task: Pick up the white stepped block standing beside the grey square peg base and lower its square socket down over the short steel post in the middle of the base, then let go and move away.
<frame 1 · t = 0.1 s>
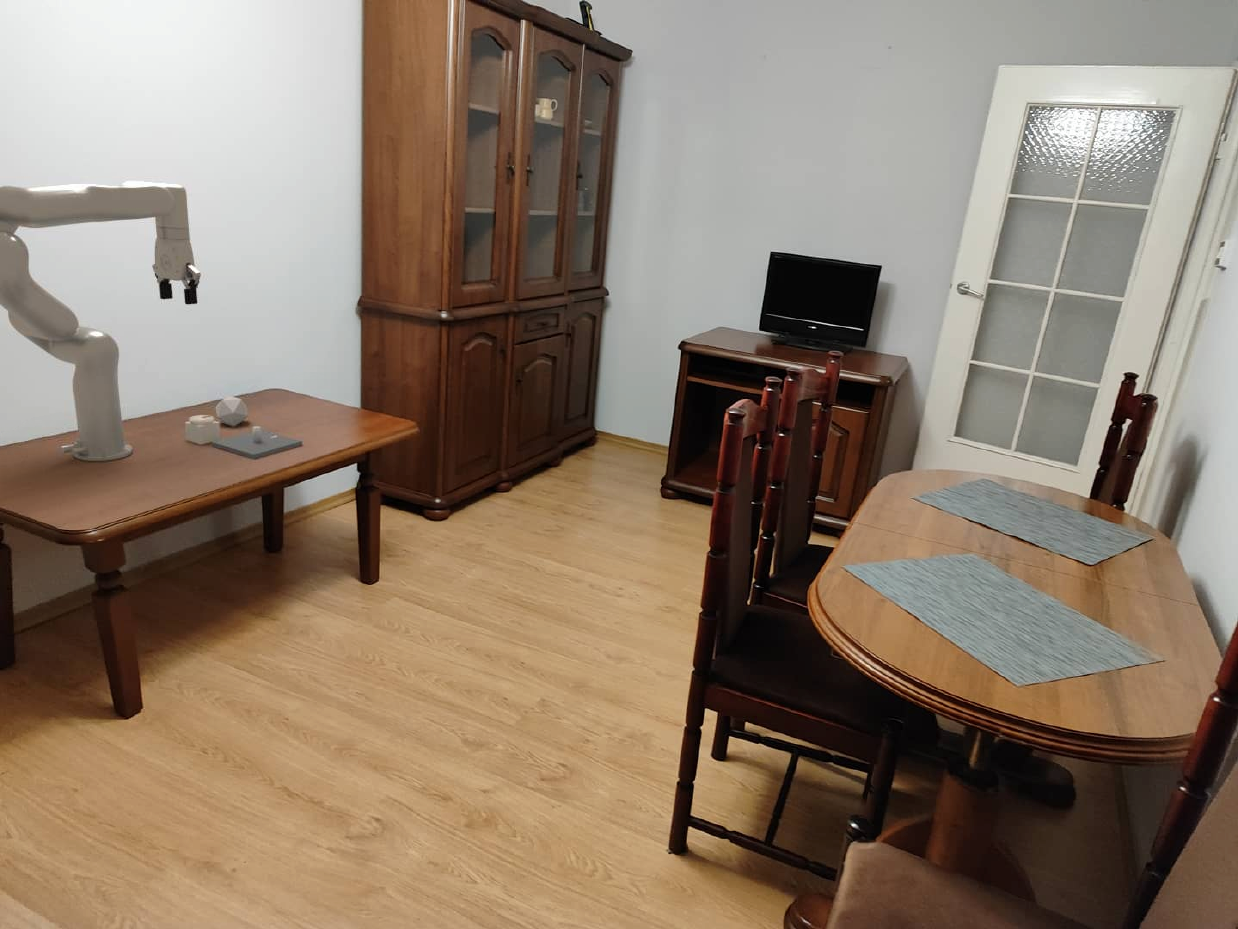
hand: (178, 301, 215), 37 cm above the table, tool pointing down, fingers open, 9 cm apart
grey square peg base: (257, 445, 223), on the table
white stepped block: (203, 439, 223), on the table
die: (232, 424, 239), on the table
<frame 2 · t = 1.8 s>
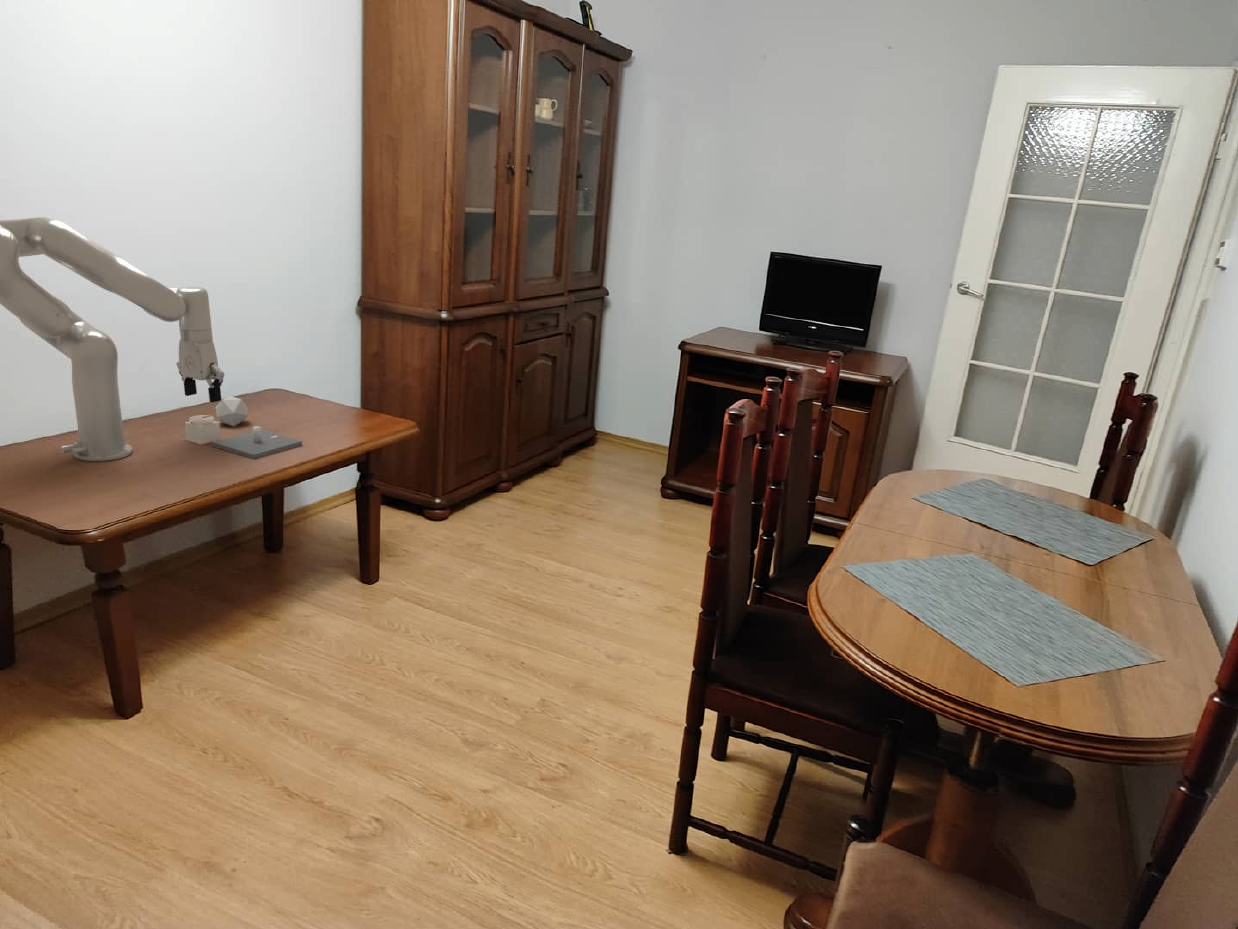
hand: (203, 398, 220), 12 cm above the table, tool pointing down, fingers open, 9 cm apart
nothing on the table moved.
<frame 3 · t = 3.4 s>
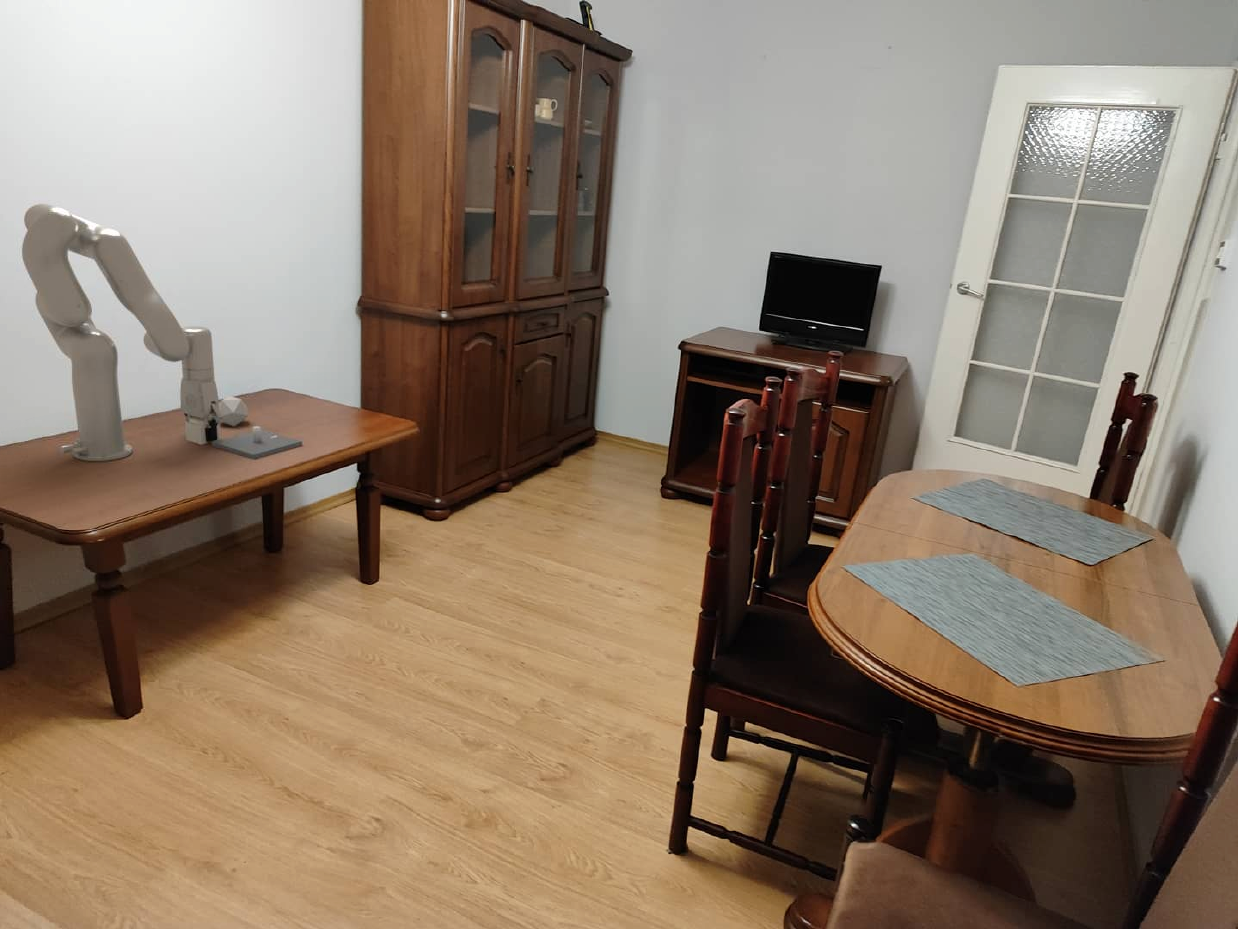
hand: (203, 437, 223), 1 cm above the table, tool pointing down, fingers closed on white stepped block, 6 cm apart
white stepped block: (203, 439, 223), on the table, touching gripper
everything else where it was.
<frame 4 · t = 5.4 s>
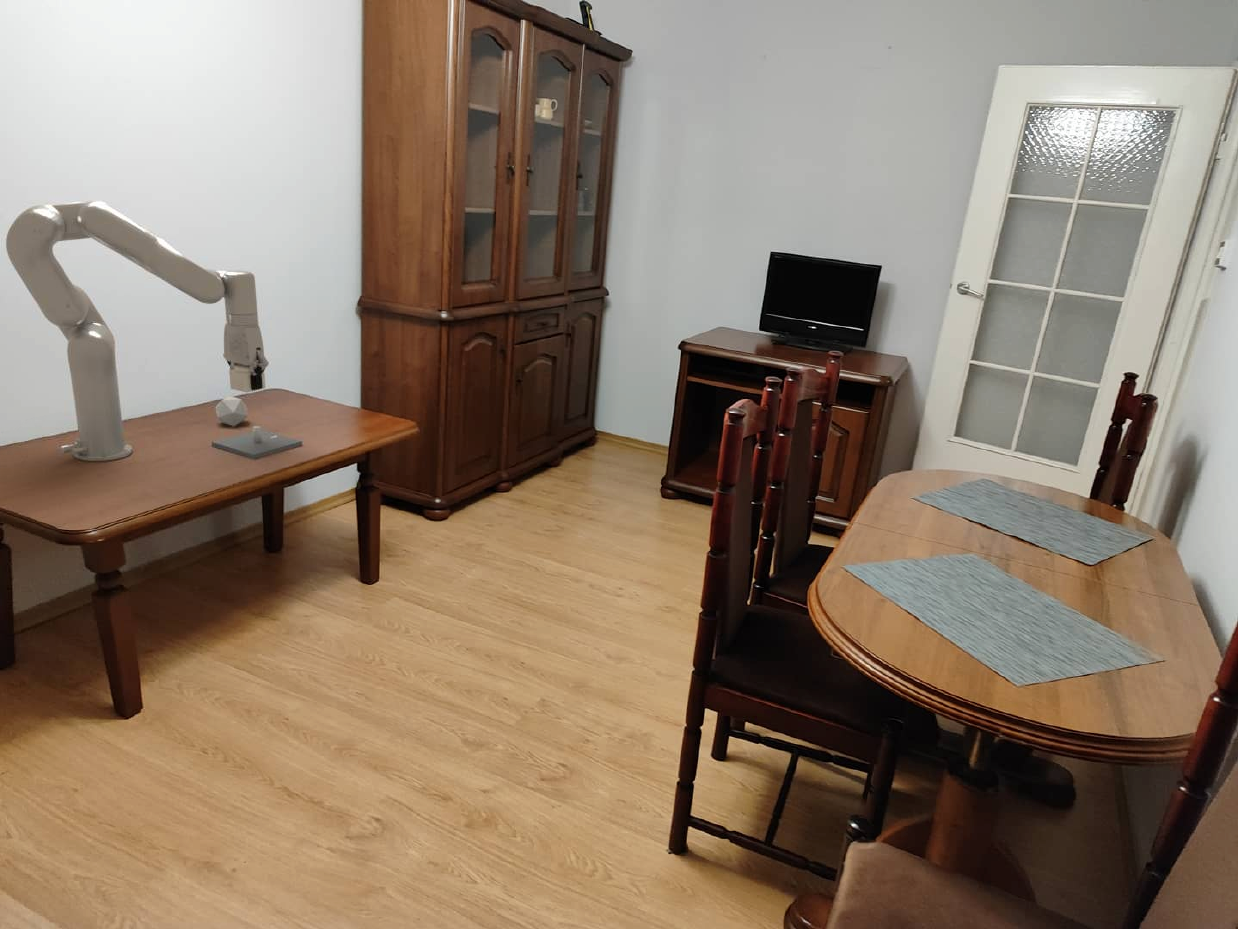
hand: (247, 386, 218), 16 cm above the table, tool pointing down, fingers closed on white stepped block, 6 cm apart
white stepped block: (248, 388, 218), point 16 cm above the table, touching gripper
everything else where it was.
when the fingers open (4 cm above the table, at t = 7.6 s): white stepped block drops 2 cm, resting on grey square peg base.
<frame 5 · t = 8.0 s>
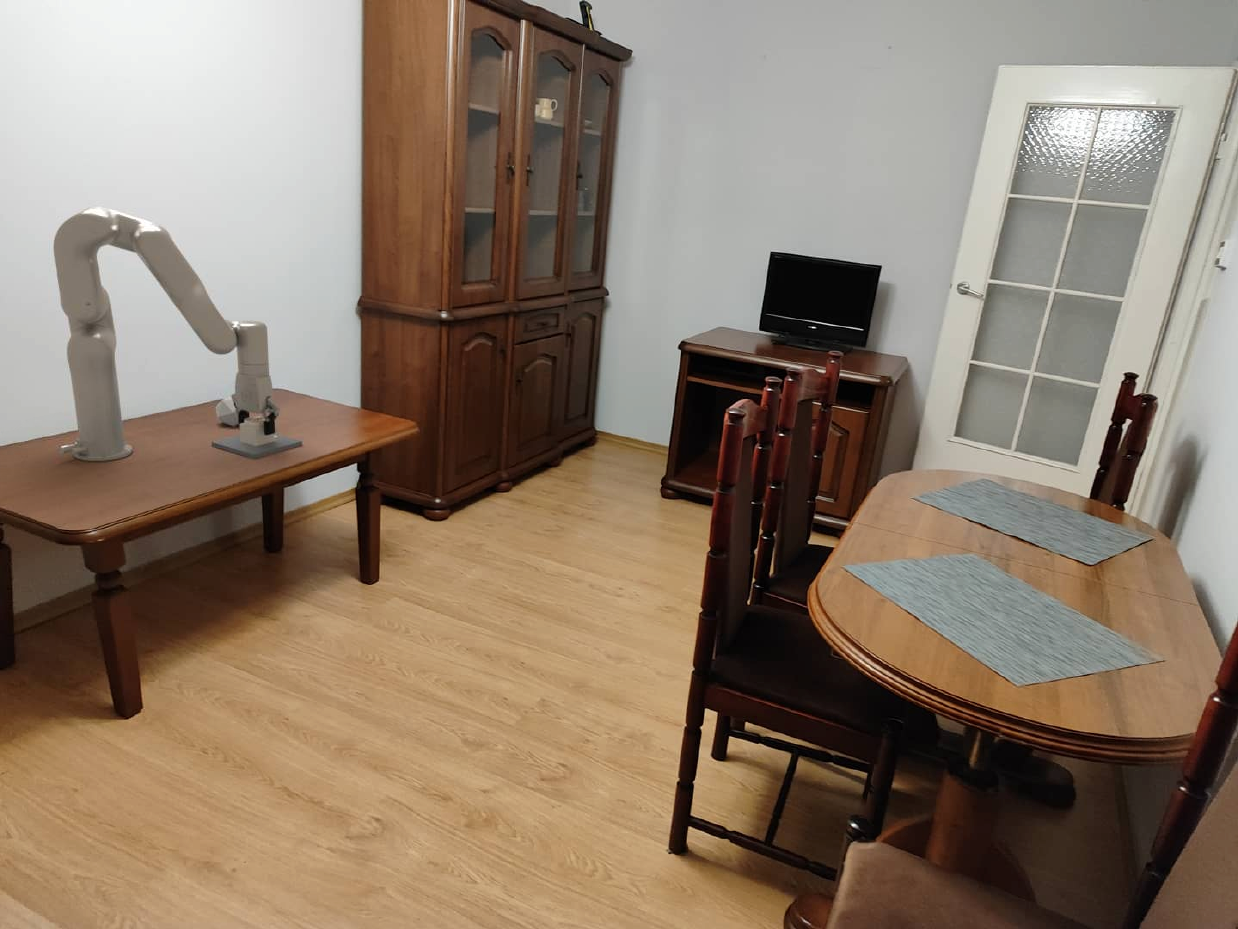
hand: (256, 430, 221), 4 cm above the table, tool pointing down, fingers open, 9 cm apart
white stepped block: (257, 441, 222), point 1 cm above the table, touching grey square peg base
everything else where it was.
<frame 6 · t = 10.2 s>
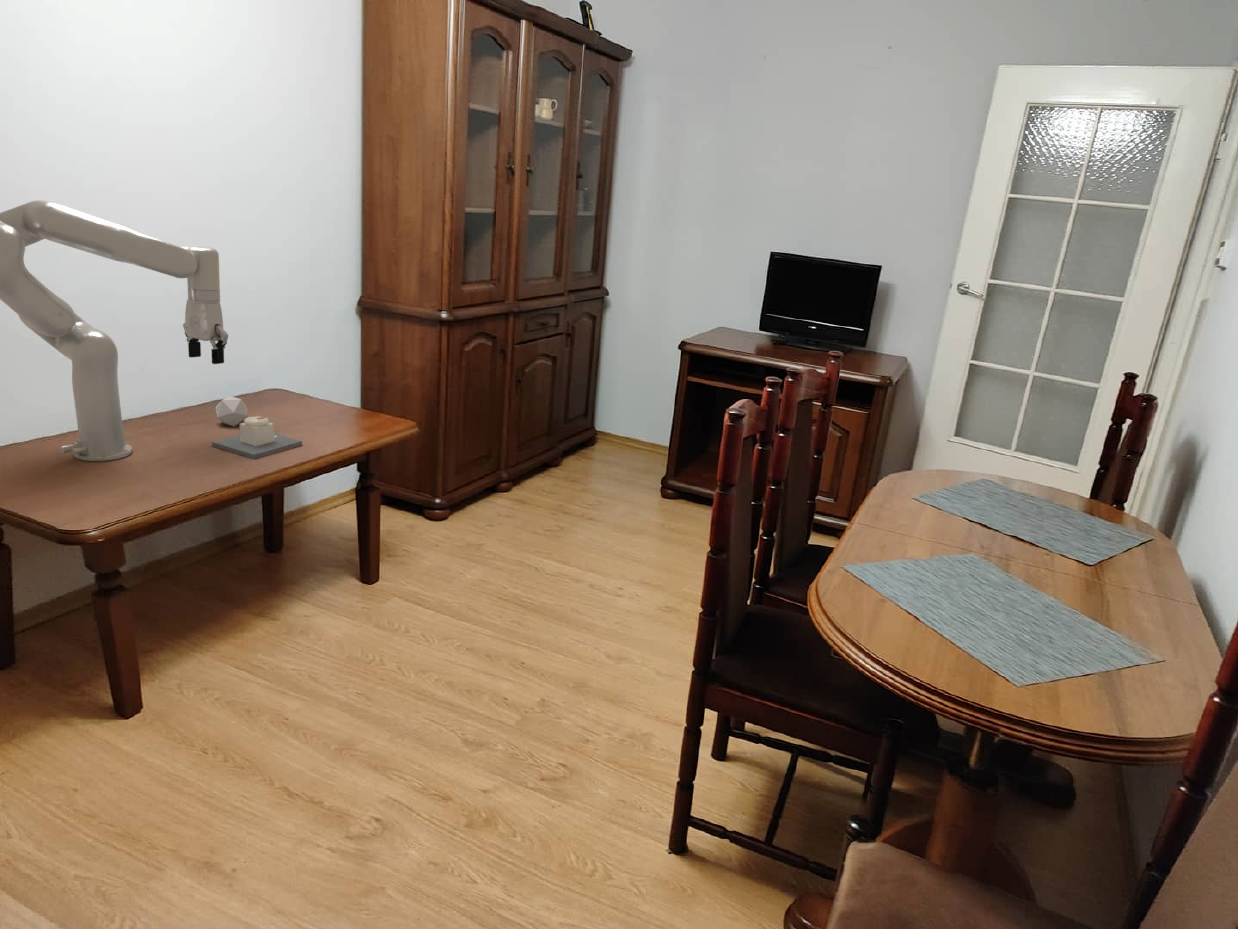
hand: (206, 360, 219), 22 cm above the table, tool pointing down, fingers open, 9 cm apart
nothing on the table moved.
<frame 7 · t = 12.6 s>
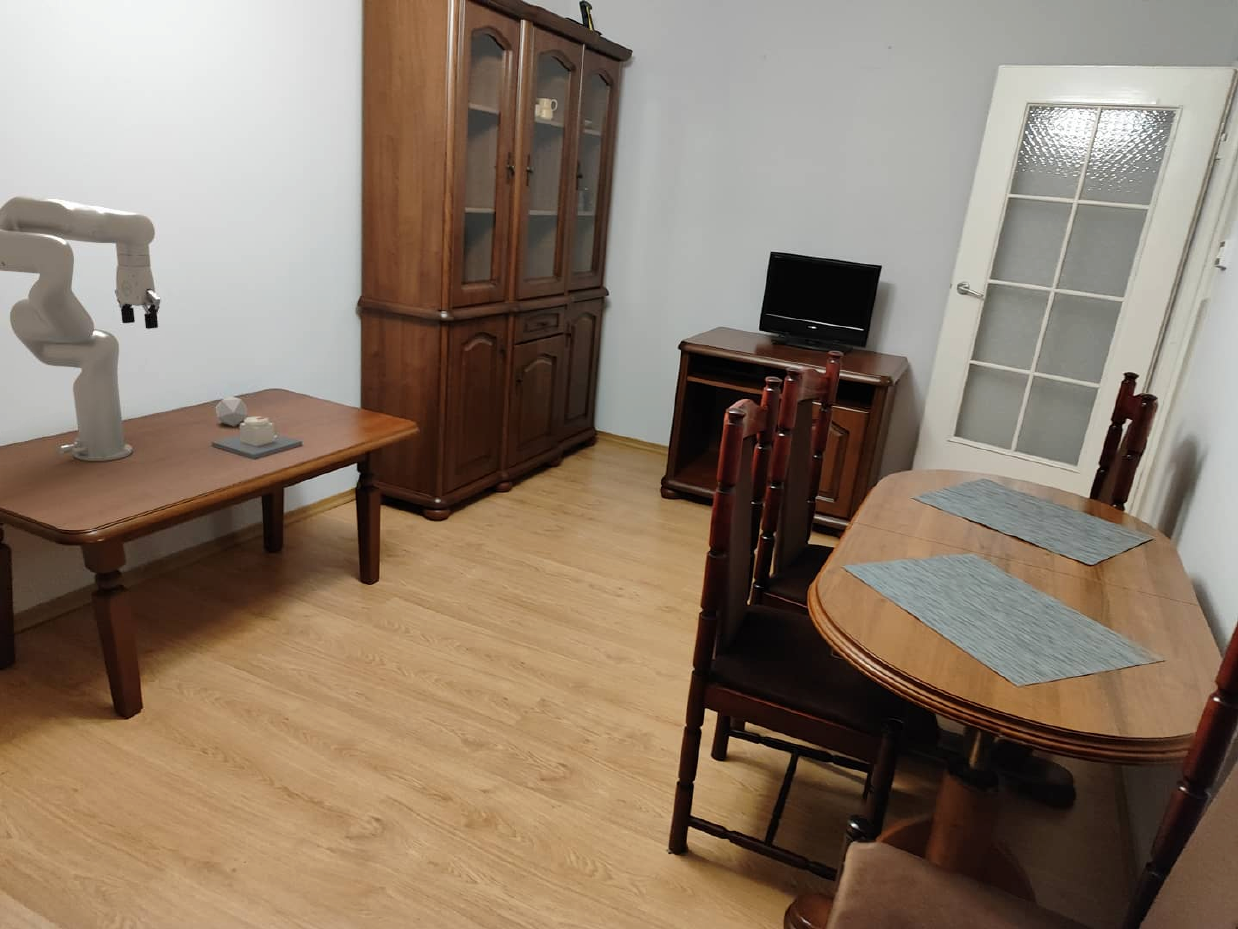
hand: (140, 325, 222), 28 cm above the table, tool pointing down, fingers open, 9 cm apart
nothing on the table moved.
at the end: white stepped block 0.0 cm off-centre on the grey square peg base, point 1.2 cm above the grey square peg base's base; white stepped block tilted 0°; the gripper is holding nothing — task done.
